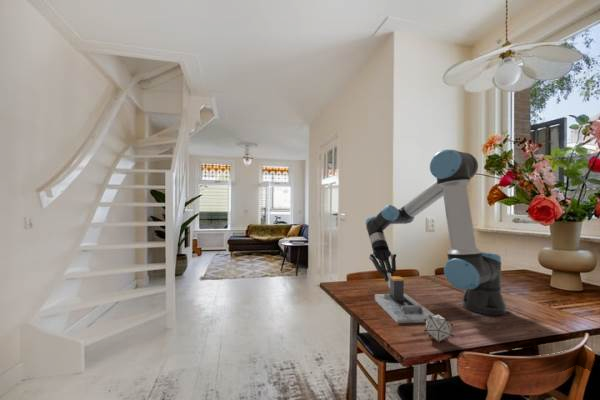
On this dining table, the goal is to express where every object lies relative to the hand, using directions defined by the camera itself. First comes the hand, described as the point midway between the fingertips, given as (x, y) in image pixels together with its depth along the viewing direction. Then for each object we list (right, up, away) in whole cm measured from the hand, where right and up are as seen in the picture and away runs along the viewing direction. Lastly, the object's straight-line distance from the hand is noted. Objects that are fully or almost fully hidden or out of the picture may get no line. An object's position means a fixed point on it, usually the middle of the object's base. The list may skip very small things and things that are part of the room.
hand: (392, 287), depth 122 cm
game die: (+3, -6, -35) cm, 35 cm away
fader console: (+1, -6, -10) cm, 11 cm away
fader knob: (0, -3, -5) cm, 6 cm away
